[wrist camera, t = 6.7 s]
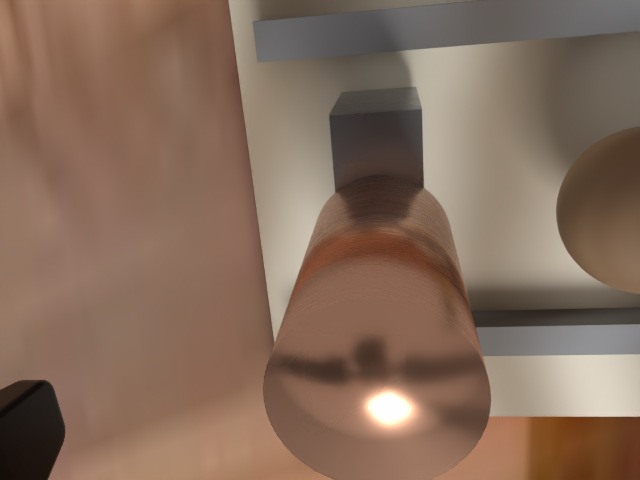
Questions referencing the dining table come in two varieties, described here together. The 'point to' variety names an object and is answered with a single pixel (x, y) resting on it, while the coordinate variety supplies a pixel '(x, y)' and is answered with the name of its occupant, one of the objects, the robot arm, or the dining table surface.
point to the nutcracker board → (463, 163)
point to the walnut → (604, 210)
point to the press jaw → (378, 314)
